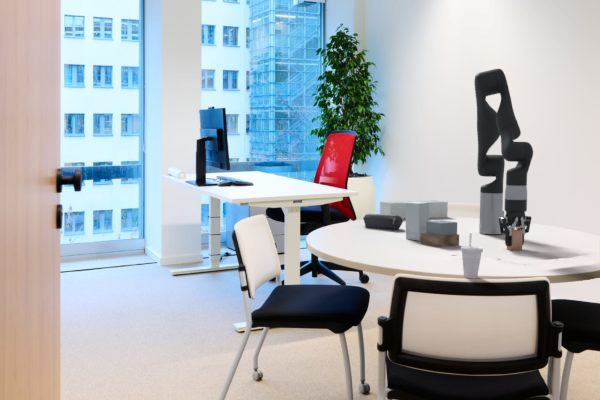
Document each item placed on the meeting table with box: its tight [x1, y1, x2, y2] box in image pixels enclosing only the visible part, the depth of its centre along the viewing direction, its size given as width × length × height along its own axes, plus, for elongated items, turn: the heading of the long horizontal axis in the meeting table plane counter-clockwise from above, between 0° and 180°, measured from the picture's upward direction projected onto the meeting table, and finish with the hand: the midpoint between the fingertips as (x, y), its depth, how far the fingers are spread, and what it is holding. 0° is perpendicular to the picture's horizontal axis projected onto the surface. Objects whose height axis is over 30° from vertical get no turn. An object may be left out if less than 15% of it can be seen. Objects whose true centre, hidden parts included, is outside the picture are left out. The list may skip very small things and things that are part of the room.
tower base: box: [419, 233, 460, 248], centre depth 239 cm, size 10×10×4 cm
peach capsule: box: [506, 228, 523, 252], centre depth 228 cm, size 5×5×7 cm
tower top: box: [426, 219, 458, 236], centre depth 239 cm, size 8×8×4 cm
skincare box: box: [405, 202, 431, 242], centre depth 252 cm, size 8×6×15 cm
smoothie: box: [460, 232, 484, 279], centre depth 192 cm, size 6×6×14 cm
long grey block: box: [379, 199, 449, 220], centre depth 316 cm, size 32×11×11 cm, turn 111°
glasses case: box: [363, 213, 404, 231], centre depth 279 cm, size 18×10×8 cm, turn 61°
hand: (514, 245), depth 228 cm, fingers closed on peach capsule, 5 cm apart
